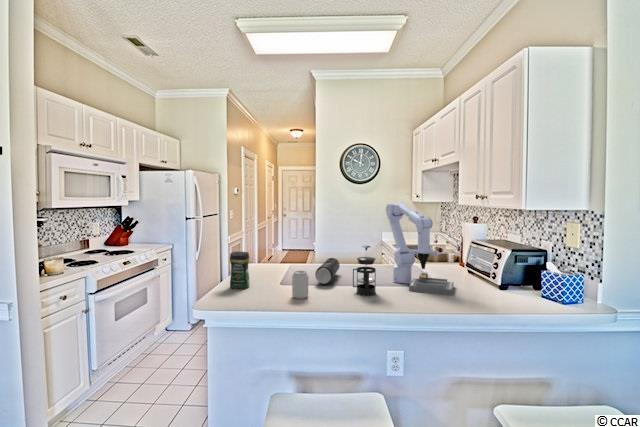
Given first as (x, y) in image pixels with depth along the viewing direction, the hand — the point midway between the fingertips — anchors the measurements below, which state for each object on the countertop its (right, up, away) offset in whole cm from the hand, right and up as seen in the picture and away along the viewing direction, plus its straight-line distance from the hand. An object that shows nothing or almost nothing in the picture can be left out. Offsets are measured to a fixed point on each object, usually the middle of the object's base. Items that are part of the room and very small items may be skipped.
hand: (423, 268), depth 177 cm
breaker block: (+4, -10, +1) cm, 11 cm away
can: (-61, -12, -13) cm, 63 cm away
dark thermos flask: (-47, -10, +20) cm, 52 cm away
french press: (-30, -11, -6) cm, 33 cm away
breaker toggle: (0, -8, 0) cm, 8 cm away
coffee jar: (-93, -11, +4) cm, 94 cm away
